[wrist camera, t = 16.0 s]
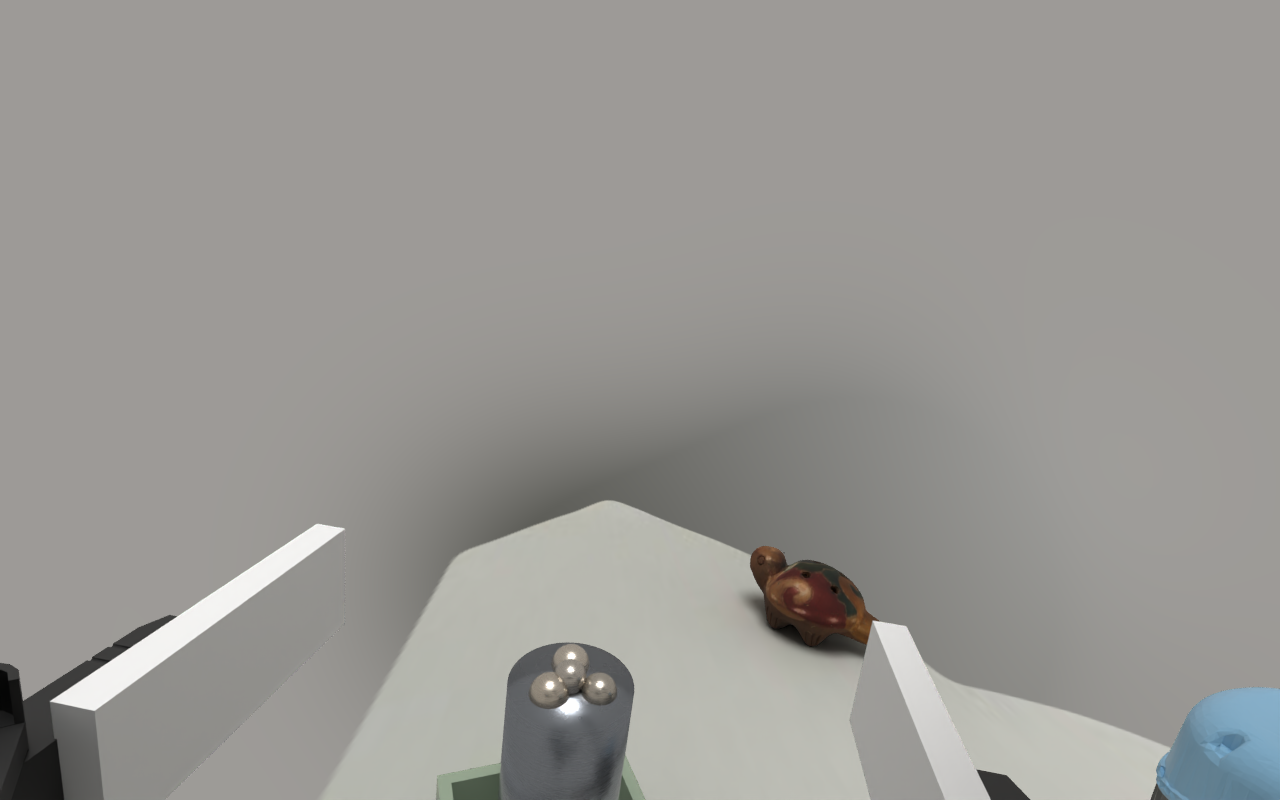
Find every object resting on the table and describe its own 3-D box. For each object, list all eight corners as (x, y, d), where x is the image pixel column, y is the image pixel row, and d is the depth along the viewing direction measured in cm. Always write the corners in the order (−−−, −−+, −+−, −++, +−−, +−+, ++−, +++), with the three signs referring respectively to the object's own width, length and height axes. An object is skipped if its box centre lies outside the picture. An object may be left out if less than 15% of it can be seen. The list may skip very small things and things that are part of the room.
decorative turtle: (751, 587, 78) (767, 528, 76) (877, 642, 71) (898, 578, 70) (723, 620, 69) (740, 554, 67) (863, 685, 63) (887, 614, 61)
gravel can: (589, 814, 43) (615, 615, 39) (621, 918, 37) (655, 695, 33) (484, 837, 41) (500, 627, 37) (499, 953, 34) (521, 716, 30)
